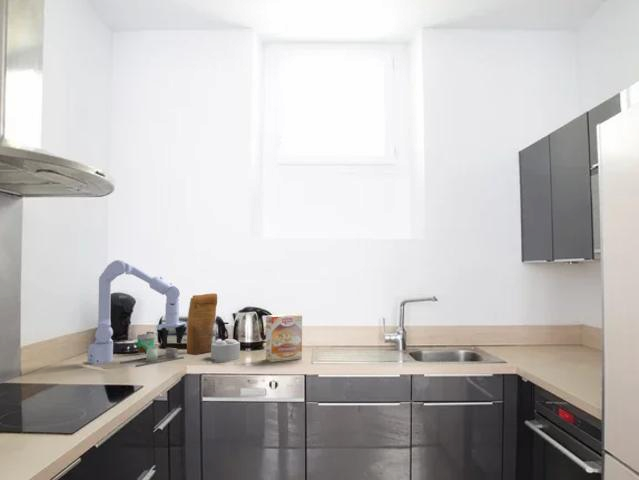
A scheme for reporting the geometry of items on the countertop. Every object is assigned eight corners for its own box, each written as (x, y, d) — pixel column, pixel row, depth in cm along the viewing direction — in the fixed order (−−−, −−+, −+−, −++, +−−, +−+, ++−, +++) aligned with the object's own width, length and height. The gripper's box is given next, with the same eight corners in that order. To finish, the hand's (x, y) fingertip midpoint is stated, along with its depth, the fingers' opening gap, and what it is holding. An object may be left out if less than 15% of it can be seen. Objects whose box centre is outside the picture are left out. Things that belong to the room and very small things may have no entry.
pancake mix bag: (221, 350, 243) (222, 293, 244) (190, 356, 227) (191, 295, 229) (211, 349, 247) (212, 292, 248) (180, 355, 231) (181, 294, 233)
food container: (150, 357, 226) (150, 335, 226) (136, 357, 226) (137, 335, 226) (159, 352, 238) (159, 331, 239) (146, 352, 238) (147, 331, 239)
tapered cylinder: (150, 362, 208) (150, 350, 209) (144, 361, 211) (144, 349, 211) (159, 360, 212) (159, 348, 212) (153, 359, 215) (153, 347, 215)
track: (137, 369, 199) (137, 365, 199) (120, 365, 206) (120, 361, 206) (184, 360, 218) (184, 356, 218) (166, 357, 225) (166, 354, 225)
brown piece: (150, 365, 206) (150, 353, 206) (137, 363, 211) (137, 351, 211) (179, 360, 218) (180, 349, 218) (167, 357, 223) (167, 347, 223)
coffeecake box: (271, 362, 214) (271, 316, 215) (265, 359, 221) (265, 315, 222) (302, 359, 221) (302, 314, 222) (295, 356, 228) (295, 313, 229)
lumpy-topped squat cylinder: (243, 358, 223) (243, 338, 224) (222, 363, 212) (222, 342, 213) (226, 356, 229) (226, 337, 229) (205, 360, 218) (205, 340, 218)
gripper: (163, 315, 212) (163, 347, 212) (191, 312, 224) (190, 343, 223) (153, 314, 217) (153, 345, 216) (181, 311, 228) (180, 341, 228)
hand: (171, 344), depth 220 cm, fingers open, 7 cm apart
